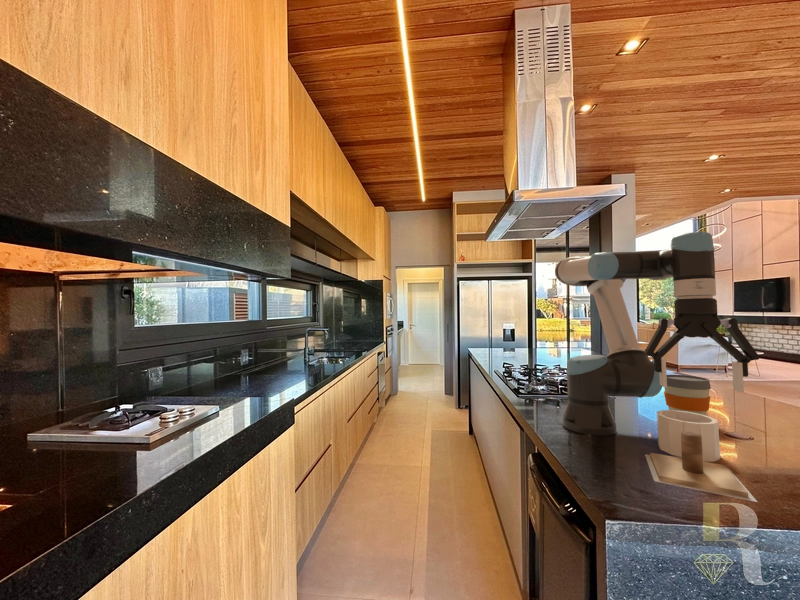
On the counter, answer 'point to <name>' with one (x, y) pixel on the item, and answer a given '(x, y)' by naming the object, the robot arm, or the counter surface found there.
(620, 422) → the counter surface
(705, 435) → the ceramic bowl
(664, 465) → the oak cover
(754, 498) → the grey mat
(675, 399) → the reusable coffee cup
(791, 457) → the counter surface
